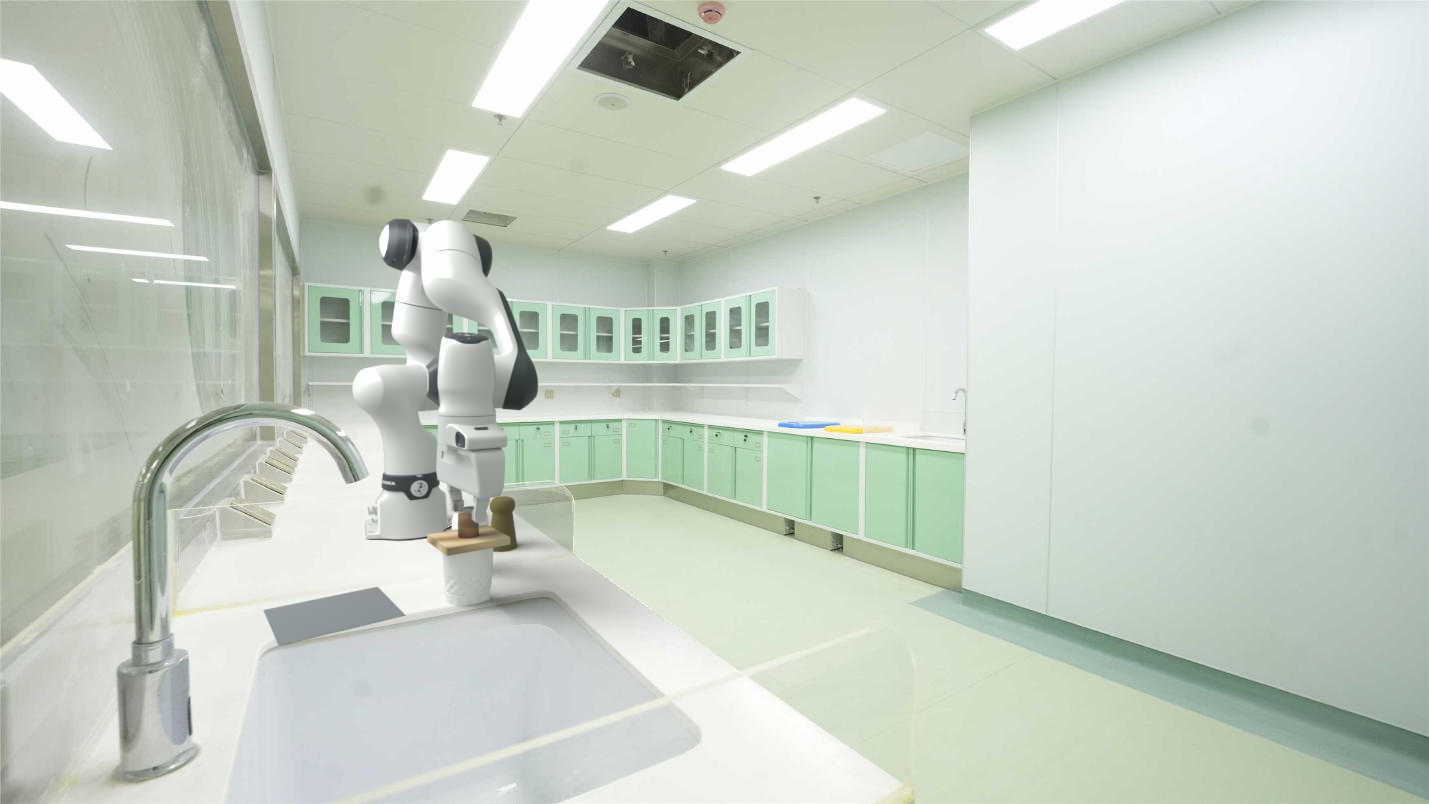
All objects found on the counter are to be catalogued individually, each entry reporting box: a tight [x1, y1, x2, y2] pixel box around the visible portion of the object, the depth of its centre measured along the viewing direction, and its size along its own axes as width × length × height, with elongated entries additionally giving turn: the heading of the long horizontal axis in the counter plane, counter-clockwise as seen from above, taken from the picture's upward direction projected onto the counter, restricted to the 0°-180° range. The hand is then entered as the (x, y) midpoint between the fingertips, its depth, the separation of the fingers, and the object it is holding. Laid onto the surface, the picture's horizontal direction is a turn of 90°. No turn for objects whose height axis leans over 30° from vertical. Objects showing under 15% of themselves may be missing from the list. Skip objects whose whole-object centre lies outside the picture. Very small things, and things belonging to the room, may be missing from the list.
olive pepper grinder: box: [489, 495, 518, 553], centre depth 132 cm, size 6×6×11 cm
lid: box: [426, 512, 510, 556], centre depth 102 cm, size 10×10×5 cm
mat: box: [263, 586, 406, 647], centre depth 95 cm, size 16×16×1 cm
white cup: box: [442, 548, 494, 607], centre depth 102 cm, size 8×8×10 cm
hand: (467, 516), depth 101 cm, fingers open, 8 cm apart
